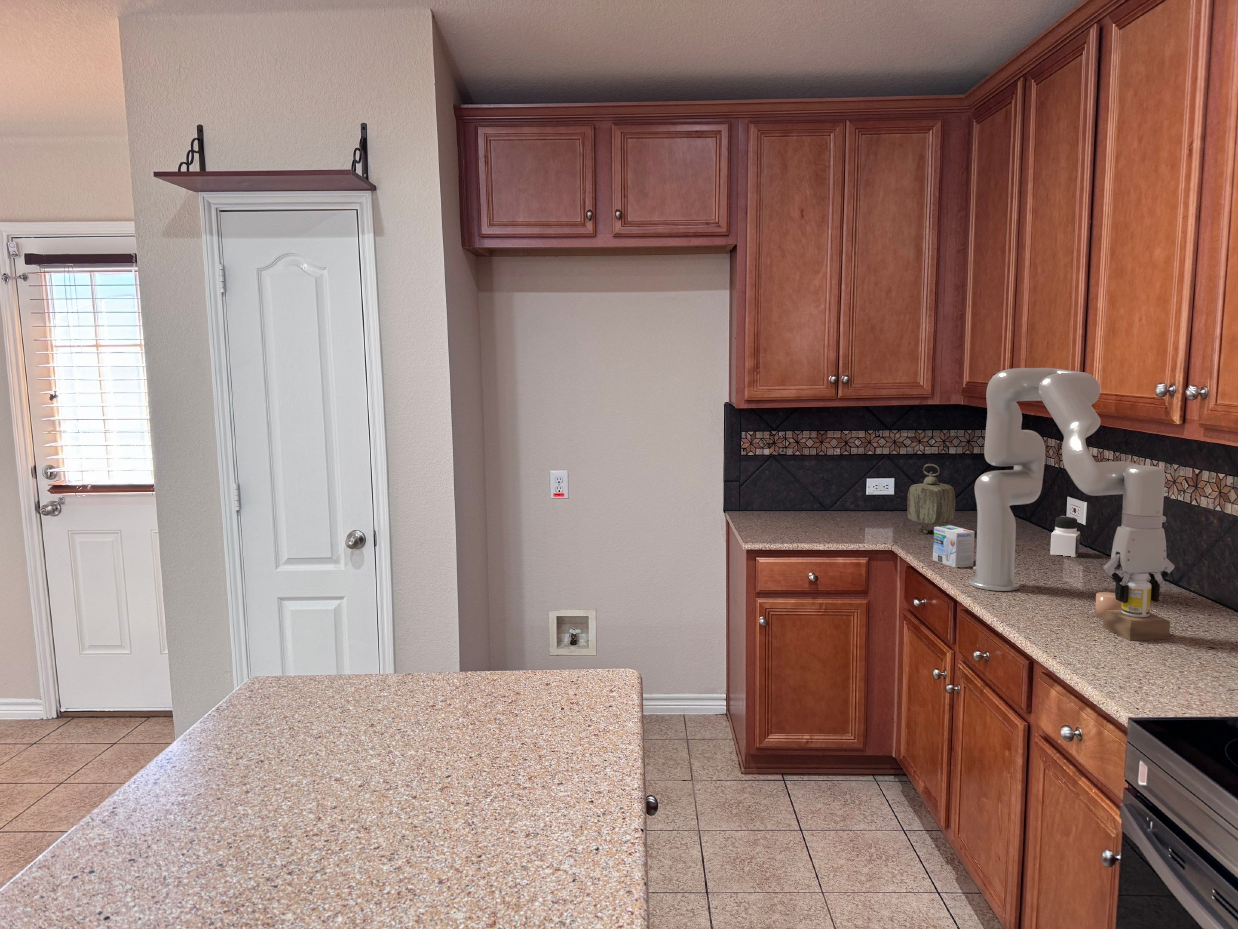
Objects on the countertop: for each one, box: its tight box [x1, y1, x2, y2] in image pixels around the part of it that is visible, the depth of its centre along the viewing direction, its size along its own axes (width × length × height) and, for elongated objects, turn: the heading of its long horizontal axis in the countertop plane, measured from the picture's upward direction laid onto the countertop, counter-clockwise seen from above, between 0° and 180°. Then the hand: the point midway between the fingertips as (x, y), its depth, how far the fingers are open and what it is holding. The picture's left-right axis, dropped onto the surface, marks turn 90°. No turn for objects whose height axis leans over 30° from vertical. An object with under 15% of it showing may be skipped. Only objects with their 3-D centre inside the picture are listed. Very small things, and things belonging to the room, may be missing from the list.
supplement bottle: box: [1121, 573, 1152, 617], centre depth 183 cm, size 5×5×10 cm
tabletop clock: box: [906, 463, 956, 535], centre depth 295 cm, size 14×9×25 cm, turn 32°
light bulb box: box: [932, 525, 976, 568], centre depth 250 cm, size 11×7×11 cm, turn 18°
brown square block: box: [1102, 610, 1171, 641], centre depth 184 cm, size 9×9×4 cm
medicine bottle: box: [1049, 515, 1081, 558], centre depth 260 cm, size 7×7×12 cm
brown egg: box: [1094, 591, 1122, 619], centre depth 197 cm, size 6×6×5 cm
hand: (1136, 600), depth 183 cm, fingers open, 6 cm apart
